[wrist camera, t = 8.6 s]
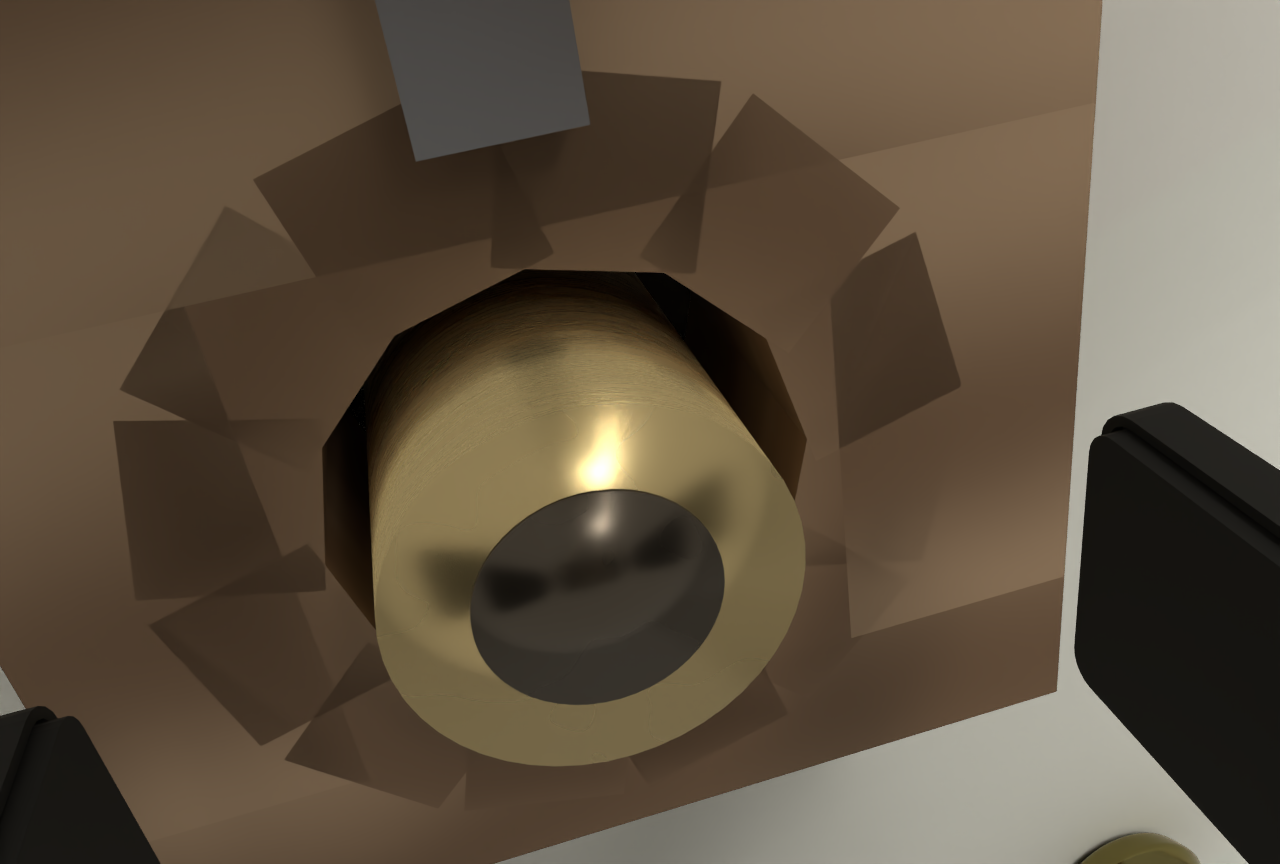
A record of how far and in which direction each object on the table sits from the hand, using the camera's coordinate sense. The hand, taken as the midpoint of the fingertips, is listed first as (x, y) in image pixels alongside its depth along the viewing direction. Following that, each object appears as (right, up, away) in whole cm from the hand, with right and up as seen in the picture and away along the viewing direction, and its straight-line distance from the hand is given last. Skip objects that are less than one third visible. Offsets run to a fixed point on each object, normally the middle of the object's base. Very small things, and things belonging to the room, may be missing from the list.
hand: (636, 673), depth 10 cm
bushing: (-2, +4, +7) cm, 8 cm away
